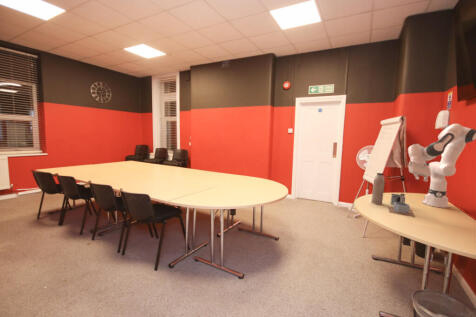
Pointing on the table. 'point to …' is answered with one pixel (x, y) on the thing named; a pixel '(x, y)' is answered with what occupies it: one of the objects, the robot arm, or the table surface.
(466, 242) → the table surface
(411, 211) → the serving board
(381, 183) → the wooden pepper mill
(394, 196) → the small box
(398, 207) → the utensil crock
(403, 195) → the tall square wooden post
